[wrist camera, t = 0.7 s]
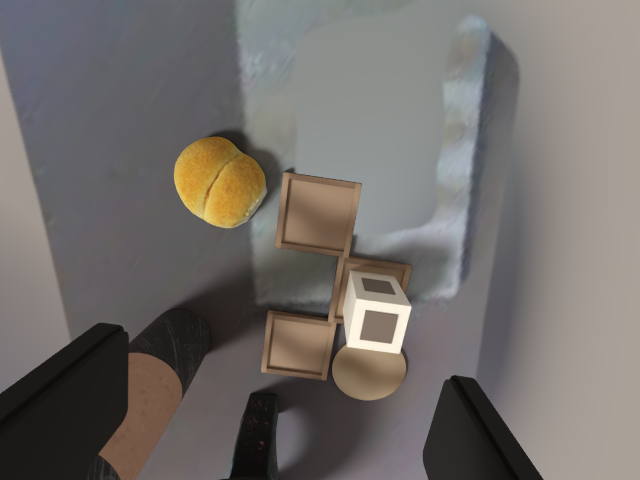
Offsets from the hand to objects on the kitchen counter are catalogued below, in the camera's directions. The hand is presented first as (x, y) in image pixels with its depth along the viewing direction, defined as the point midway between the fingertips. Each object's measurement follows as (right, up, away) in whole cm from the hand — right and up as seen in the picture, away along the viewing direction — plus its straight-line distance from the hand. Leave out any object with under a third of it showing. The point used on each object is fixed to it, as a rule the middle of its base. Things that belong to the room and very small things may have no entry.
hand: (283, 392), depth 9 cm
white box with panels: (+7, -2, +26) cm, 27 cm away
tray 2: (-2, -8, +29) cm, 30 cm away
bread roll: (-9, +10, +24) cm, 28 cm away
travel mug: (-16, -7, +29) cm, 33 cm away
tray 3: (+7, -2, +27) cm, 28 cm away
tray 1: (+1, +7, +24) cm, 25 cm away
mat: (+7, -11, +30) cm, 32 cm away
